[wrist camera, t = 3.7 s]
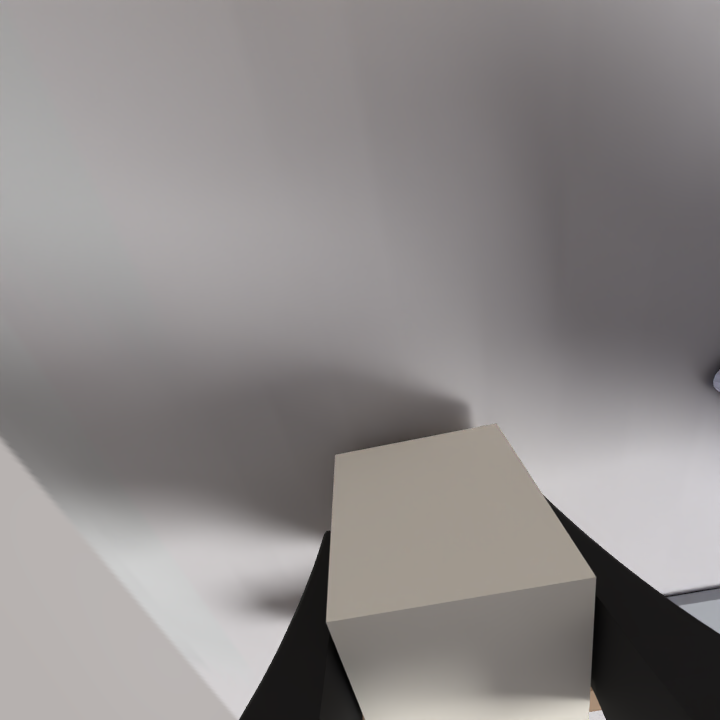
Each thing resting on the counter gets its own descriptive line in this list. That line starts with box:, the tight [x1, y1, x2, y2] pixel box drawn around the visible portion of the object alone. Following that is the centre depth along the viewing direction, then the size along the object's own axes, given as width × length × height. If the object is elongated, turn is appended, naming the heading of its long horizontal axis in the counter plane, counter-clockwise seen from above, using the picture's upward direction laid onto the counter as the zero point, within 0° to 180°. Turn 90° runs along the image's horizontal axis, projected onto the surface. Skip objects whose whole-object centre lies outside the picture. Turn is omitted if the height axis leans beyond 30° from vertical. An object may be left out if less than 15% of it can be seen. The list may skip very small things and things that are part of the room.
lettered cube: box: [326, 423, 596, 720], centre depth 10 cm, size 5×5×5 cm
